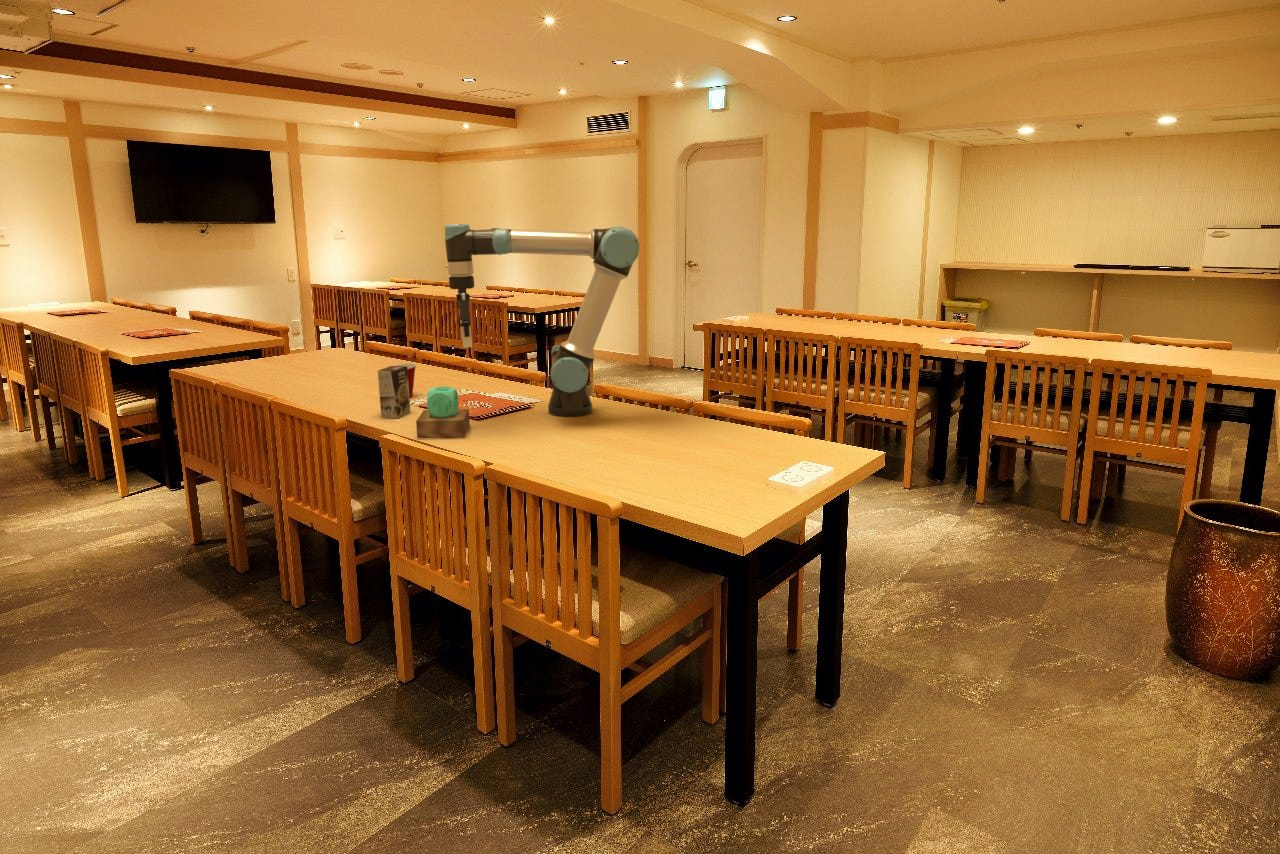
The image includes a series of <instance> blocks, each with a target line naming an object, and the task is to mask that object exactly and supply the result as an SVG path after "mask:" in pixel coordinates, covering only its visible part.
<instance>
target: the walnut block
mask: <svg viewBox="0 0 1280 854" xmlns="http://www.w3.org/2000/svg"><path fill="white" fill-rule="evenodd" d="M415 421H416V423H415V424H416V426H415V427H416V437H417V438H441V439H463V438H464V439H465V438H466V435H467V433H468V431H469V428H470V427H471V426H470V424H471V423H470V410H469V408H458V412H457V414H456V415H455V416H452V417H446V418H436V417H432V416H431V415H430V414H429V413H428V409H423V410H422V412H421V413H420V415H419V416H418V417H417V419H416V420H415Z"/></svg>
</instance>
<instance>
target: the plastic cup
mask: <svg viewBox="0 0 1280 854" xmlns="http://www.w3.org/2000/svg"><path fill="white" fill-rule="evenodd" d="M391 366H407V370H408V384H409V397H410V399H411V398H413V395H414V394H413V393H414V392H413V391H414V382H415V372H416V368H417V364H416V363H412V362H410V363H409V362H405V363H398V364H393V365H391Z"/></svg>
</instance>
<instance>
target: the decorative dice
mask: <svg viewBox="0 0 1280 854" xmlns="http://www.w3.org/2000/svg"><path fill="white" fill-rule="evenodd" d="M426 407H427V408H426V410H428V413H429V414H430V415H431V416H432V417H436V418H446V417H452V416H455V415H456V414H457V412H458V409H459V393H458V390H457V389H456V388H455V387H452V386H436V387H432V388H430V389H428V391H427V394H426Z"/></svg>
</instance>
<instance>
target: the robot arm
mask: <svg viewBox="0 0 1280 854" xmlns="http://www.w3.org/2000/svg"><path fill="white" fill-rule="evenodd" d="M444 243H445V252H446V260H447V264H446V265H445V268H446V269H447V270H448V271H447V272H448V275H450V276H449V277H448V283H449V284H448V285H449V286H448V287H449V288H450V290H457V294H455V295H456V301H457V306H458V309H459V319H460V323H458V324H459V325H458V326H459V327H460V332H461V333H460V334H461V342H462V343H463V344H462V346H463V348H473V340H472V339H473V338H472V327H471V320H472V319H471V316H470V310H469V309H470V306H471V305H470V301H471V296H470V293H468V292H467V290H468V289H473V288H475V277H474V275H473V274H474V264H473V256H483V255H485V256H488V255H489V256H490V255H493V256H495V255H497V256H498V255H499V256H501V255H508V254H526V255H527V254H529V255H530V254H531V255H556V256H583V257H585V256H586V257H590V258H591V260H593V261H592V264H593V266H594V272H593V275H592V277H591V279H590V282H589V285H588V287H587V290H586V292H585V295H584V297H583V300H582V303H581V305H580V308H579V310H578V312H577V315H576V318H575V320H574V323H573V326H572V327H571V331H570V333H569V336H568V338H567V339H566V341H563V342H561V343H560V344H555V345H553V346H552V347H551V352H550V353H551V367H550V373H549V375H550V379H551V382H552V392H551V394H550V395H551V396H550V398H549V401H548V405H547V411H548V414H550V415H552V416H557V417H580V416H586V415H589V414H591V413H593V403H592V402H593V401H592V399H591V397H590V393H589V390H588V379H589V373H590V370H591V368H592V367H593V366H592V365H593V363H594V360H595V358H596V356H595V354H594V347H595V345H596V343H597V341H598V338H599V335H600V333H601V330H602V328H603V325H604V324H605V320H606V318H607V316H608V313H609V310H610V308H611V306H612V304H613V301H614V299H615V295H616V294H617V290H618V289H619V286H620V283H621V281H622V280H625V279H626V278H627V279H628V277H629V274H630V272H631V269H632V267H633V264H634V262H635V261H636V260H637V259H638V256H639V255H640V254H639V253H640V250H641V249H640V241H639V238H638V237H637V236H636V234H635V233H634V232H633V231H632V230H630V229H629V228H627V227H623V226H614V227H609V228H592V229H591V230H590V231H574V230H571V231H569V230H547V229H546V230H544V229H541V230H540V229H519V228H518V229H516V228H515V229H514V228H512V229H511V228H499V227H494V228H493V227H492V228H490V229H471V228H470V224H468V223H449V224H446V225H445V226H444Z"/></svg>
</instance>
